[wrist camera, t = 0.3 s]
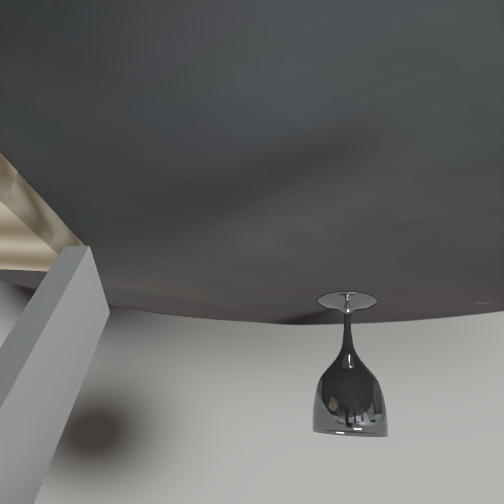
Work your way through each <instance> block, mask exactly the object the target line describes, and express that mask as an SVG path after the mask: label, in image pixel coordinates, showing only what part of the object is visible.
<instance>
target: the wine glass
mask: <svg viewBox="0 0 504 504" xmlns="http://www.w3.org/2000/svg"><path fill="white" fill-rule="evenodd" d="M376 303H377V300H376V298H375V297H373V296H371V295H368V294H365V293H360V292H348V291H347V292H334V293H329V294H325V295H323V296H321V297H320V298H319V299H318V304H319V305H320V306H322V307H324V308H327V309H331V310H336V311H342V312H343V314H344V335H343V343H342V348H341V351H340V353H339V355H338V356H337V358H336V359H335V360H334V362H333V363H332V364H331V365H330V366H329V368H328V369H327V370H326V371H325V372H324V373H323V375H322V376H321V378H320V380H319V382H318V385H317V389H316V393H315V400H314V407H313V431H314V432H318V433H325V434H334V435H346V436H364V437H385V436H388V429H387V428H388V427H387V416H386V408H385V402H384V397H383V394H382V390H381V387H380V385H379V382H378V380H377V379H376V377H375V376H374V375H373V374H372V373H371V371H370V370H369V369H368V368H367V367H366V366H365V364H364V363H363V362H362V361H361V360H360V358H359V357H358V355H357V353H356V351H355V349H354V346H353V340H352V334H351V319H350V318H351V312H352V311H359V310H365V309H368V308H371V307H373V306H374V305H376Z"/></svg>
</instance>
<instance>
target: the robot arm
mask: <svg viewBox="0 0 504 504" xmlns="http://www.w3.org/2000/svg"><path fill="white" fill-rule="evenodd" d="M109 313H110V312H109V309H108V305H107V302H106V298H105V295H104V292H103V289H102V285H101V282H100V279H99V275H98V272H97V269H96V265H95V262H94V259H93V255H92V252H91V249H90V246H64V247H63V249H62V251H61V252H60V254H59V255H58V257H57V258H56V260H55V262H54V263H53V265H52V266H51V268H50V270H49V271H48V273H47V274H46V276H45V278H44V279H43V281H42V282H41V284H40V286H39V287H38V289H37V290H36V292H35V294H34V295H33V297H32V298H31V300H30V301H29V303H28V305H27V306H26V308H25V309H24V311H23V313H22V314H21V316H20V317H19V319H18V321H17V322H16V324H15V325H14V327H13V329H12V330H11V332H10V333H9V335H8V336H7V338H6V340H5V341H4V343H3V344H2V346H1V348H0V504H34V502H35V499H36V497H37V494H38V492H39V489H40V487H41V484H42V482H43V479H44V477H45V474H46V471H47V469H48V467H49V464H50V462H51V459H52V456H53V454H54V451H55V449H56V447H57V444H58V442H59V439H60V436H61V434H62V431H63V429H64V427H65V424H66V422H67V419H68V416H69V414H70V411H71V409H72V406H73V404H74V401H75V399H76V396H77V394H78V391H79V389H80V386H81V384H82V381H83V379H84V376H85V374H86V371H87V368H88V366H89V364H90V361H91V358H92V356H93V353H94V351H95V349H96V346H97V344H98V341H99V339H100V336H101V334H102V331H103V329H104V326H105V324H106V321H107V318H108V316H109Z"/></svg>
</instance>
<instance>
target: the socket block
mask: <svg viewBox="0 0 504 504" xmlns="http://www.w3.org/2000/svg"><path fill="white" fill-rule="evenodd" d="M64 246H85V245H84V244H83V243H82V242H81V241H80V240H79V239H78V238H77V236H76V235H75V234H74V233H73V232H72V231H71V230H70V229H69V228H68V227H67V225H66V224H65V223H64V222H63V221H62V220H61V219H60V218H59V217H58V215H57V214H56V213H55V212H54V211H53V210H52V209H51V208H50V207H49V206H48V204H47V203H46V202H45V201H44V200H43V199H42V198H41V197H40V196H39V194H38V193H37V192H36V191H35V190H34V189H33V188H32V187H31V186H30V185H29V183H28V182H27V181H26V180H25V179H24V178H23V177H22V176H21V175H20V173H19V172H18V171H17V170H16V169H15V168H14V167H13V166H12V165H11V164H10V162H9V161H8V160H7V159H6V158H5V157H4V156H3V155H2V154H1V152H0V269H12V270H32V271H49V270H50V268H51V266H52V265H53V263H54V262H55V260H56V258H57V257H58V255H59V254H60V252H61V251H62V249H63V247H64Z"/></svg>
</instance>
